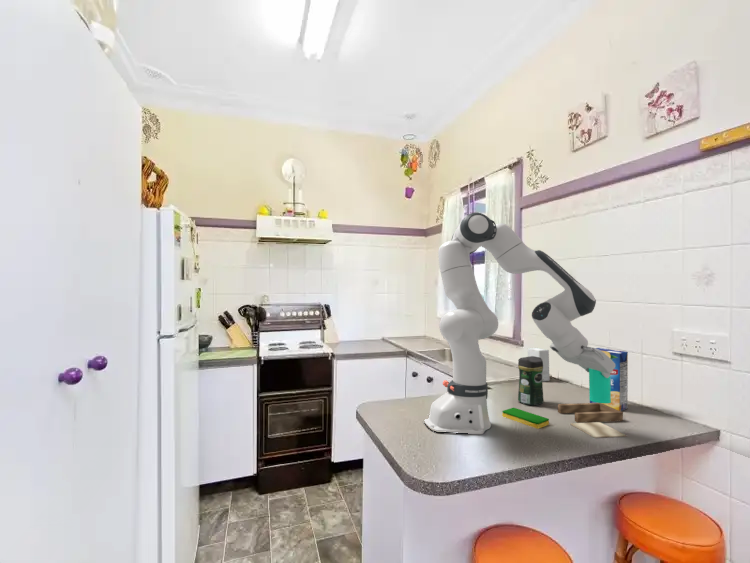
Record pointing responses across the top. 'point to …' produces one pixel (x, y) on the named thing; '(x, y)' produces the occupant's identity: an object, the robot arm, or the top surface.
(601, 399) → the candle
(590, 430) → the plate
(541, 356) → the skincare box
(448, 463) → the top surface
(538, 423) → the dish sponge
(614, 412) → the brown wooden u-shaped frame
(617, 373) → the beverage box
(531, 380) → the coffee jar
